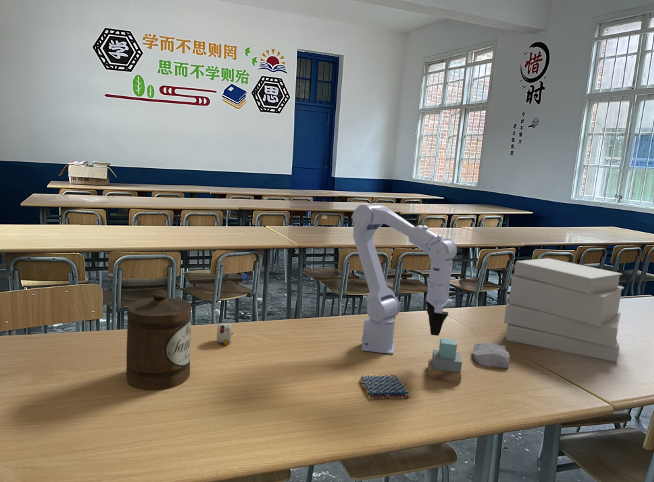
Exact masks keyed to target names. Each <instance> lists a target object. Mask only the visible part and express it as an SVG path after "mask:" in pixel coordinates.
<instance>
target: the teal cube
mask: <svg viewBox="0 0 654 482" xmlns="http://www.w3.org/2000/svg"><path fill="white" fill-rule="evenodd" d="M457 347H458V344H457V340H456V339H453V338H445V337H444V338H443V337H440V338H439V346H438V350H439V355H440V358H449V359H456V352H457V349H458V348H457Z"/></svg>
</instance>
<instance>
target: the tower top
mask: <svg viewBox="0 0 654 482" xmlns="http://www.w3.org/2000/svg"><path fill="white" fill-rule="evenodd" d="M431 359H432V362H433V369H434V370H440V371H449V372H457V373H461V374H462V364H463V361H462V357H461V355H460V352H459V351H456V359H449V358H440V355H439V349H435V348H433V349H432V356H431Z"/></svg>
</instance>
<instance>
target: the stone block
mask: <svg viewBox="0 0 654 482" xmlns="http://www.w3.org/2000/svg"><path fill="white" fill-rule="evenodd" d="M509 353H510V352H508V350H507V349H506V346H505V345H504V344H503V345H499V344H496V343H492V342H491V343H490V342H478V343H475V344H474V345H473V348H472V356H473V360H474V361H475V362H476V363H477V364H479V365H480V366H484V367H490V368H500V367H501V368H502V369H503V368H504V369H508V368H509V367H510V360H511V359H510V354H509ZM491 366H493V367H491Z"/></svg>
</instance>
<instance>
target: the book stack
mask: <svg viewBox="0 0 654 482" xmlns="http://www.w3.org/2000/svg"><path fill="white" fill-rule="evenodd" d="M620 276H623V273H621V272H615V271H612V270H607V269H601V268H596V267H592V266H588V265H584V264H578V263H574V262H568V261H563V260H558V259H554V258H549V257H548V258H537V259H536V258H535V259H524V260H516V261H515V265H514V275H513V276H512V277H511V281H510V289H509V297H508V303H507V304H506V306H505V310H504V311H505V312H504V320H503V322H504V324H507V326H506V333H505V341H509V342H514V343H518V342H519V344H523V343H524V345H528V344H529V346H533V347H538V348H544V349H547V350H548V349H549V350H554V351H559V352H563V353H569V354H574V355H578V356H583V357H588V358H593V359H598V360H603V361H608V362H613V363H617V362H618V358H619V353H620V344H619V342H618V340H617V338H618V337H617V336H618V333H619V325H620V324H619V323H620V319H621V314H622V313H621V311H619V309H620V308H619V307H620V303H621V298H622V297H621V295H622V291H623V290H624V289H625V287H624V286H622V285H621V286H620V285H619V283H620V281H619V280H620Z"/></svg>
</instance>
